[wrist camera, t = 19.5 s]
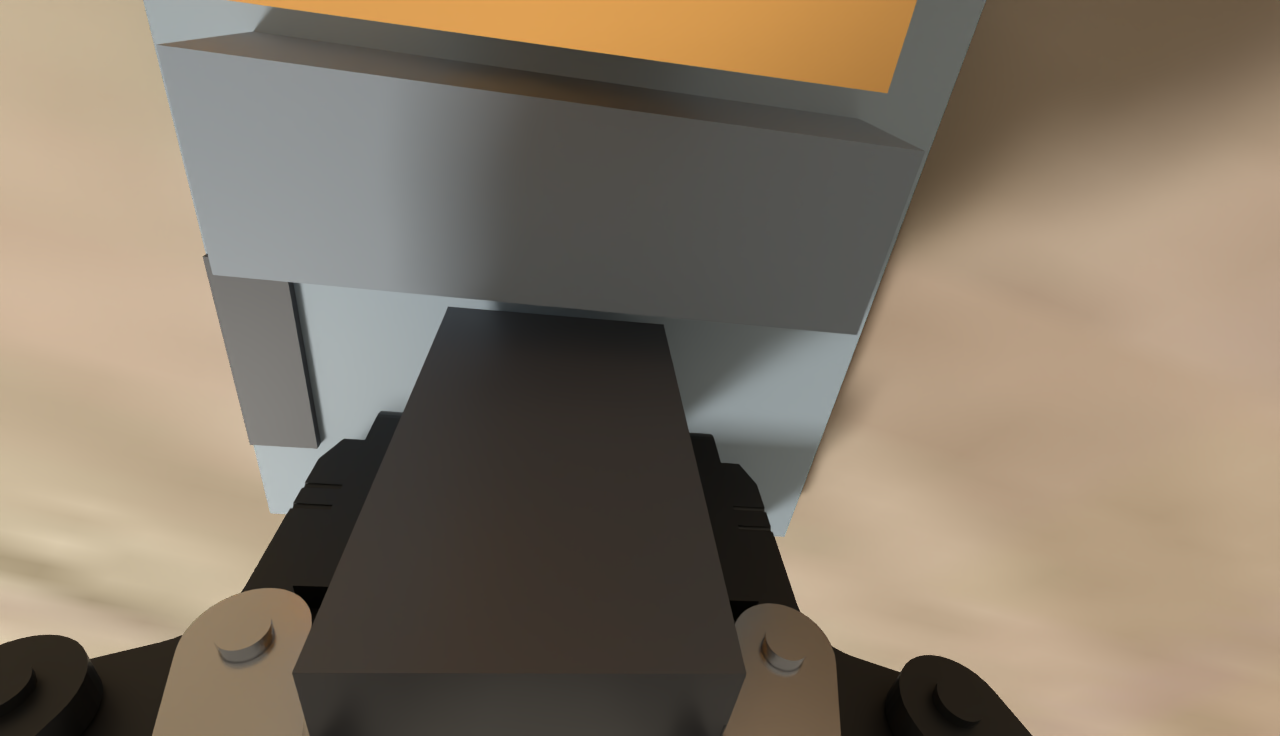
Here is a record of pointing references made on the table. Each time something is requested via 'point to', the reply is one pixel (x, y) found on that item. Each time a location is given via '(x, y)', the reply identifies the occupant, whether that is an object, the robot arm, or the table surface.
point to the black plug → (530, 550)
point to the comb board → (536, 214)
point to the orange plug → (676, 31)
